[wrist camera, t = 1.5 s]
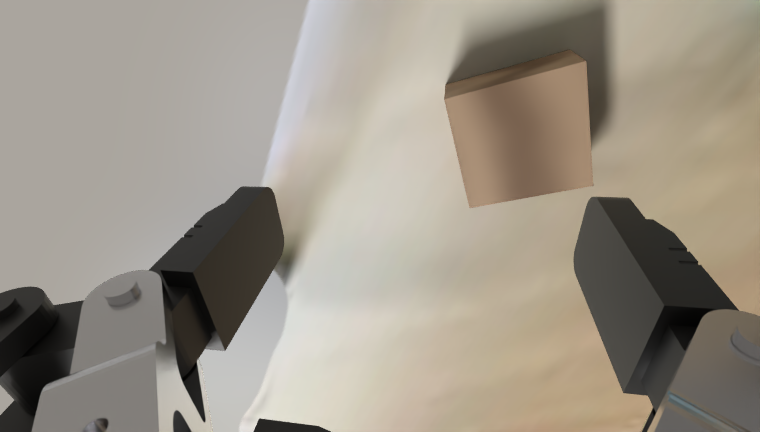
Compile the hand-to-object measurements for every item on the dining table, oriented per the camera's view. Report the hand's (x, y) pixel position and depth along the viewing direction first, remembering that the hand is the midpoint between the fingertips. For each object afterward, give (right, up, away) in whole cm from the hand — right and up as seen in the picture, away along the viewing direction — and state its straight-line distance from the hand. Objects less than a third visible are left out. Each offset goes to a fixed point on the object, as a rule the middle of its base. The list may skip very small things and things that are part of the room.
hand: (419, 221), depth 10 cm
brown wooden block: (+9, +7, +18) cm, 21 cm away
